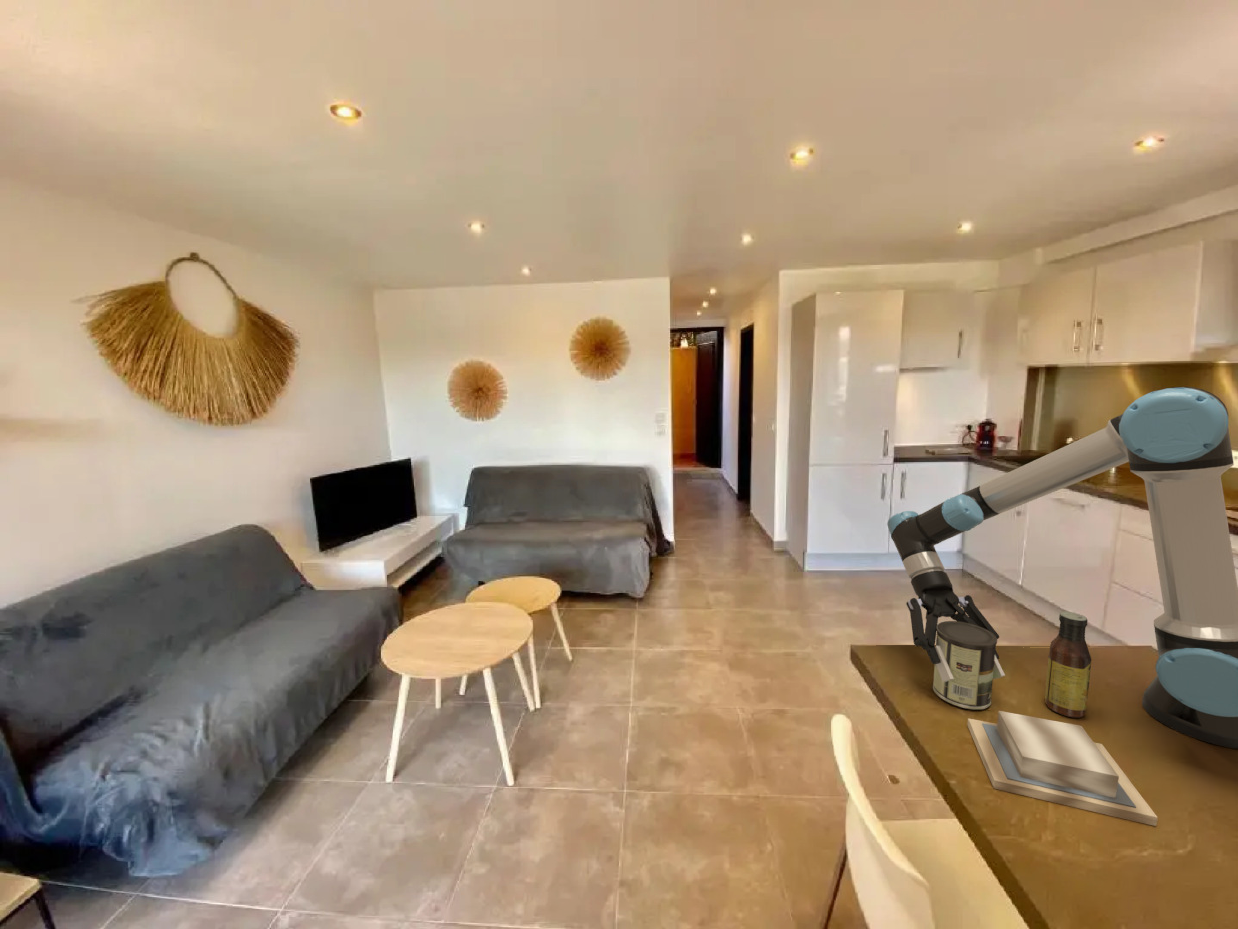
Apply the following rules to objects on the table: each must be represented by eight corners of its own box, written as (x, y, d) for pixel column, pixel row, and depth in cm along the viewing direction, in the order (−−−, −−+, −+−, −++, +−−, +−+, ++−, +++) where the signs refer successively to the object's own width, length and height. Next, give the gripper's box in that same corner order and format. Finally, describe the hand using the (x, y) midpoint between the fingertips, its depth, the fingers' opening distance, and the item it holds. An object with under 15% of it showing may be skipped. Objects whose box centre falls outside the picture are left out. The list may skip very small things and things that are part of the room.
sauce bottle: (1093, 721, 96) (1107, 626, 92) (1056, 718, 97) (1068, 623, 93) (1070, 700, 102) (1082, 610, 99) (1035, 697, 103) (1046, 608, 100)
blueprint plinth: (1100, 751, 88) (1104, 723, 87) (1156, 826, 73) (1161, 794, 72) (967, 725, 95) (969, 699, 95) (993, 788, 81) (996, 758, 80)
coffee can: (974, 681, 108) (979, 621, 106) (1002, 712, 98) (1009, 646, 96) (923, 678, 110) (927, 619, 108) (946, 708, 100) (951, 644, 98)
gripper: (965, 579, 117) (1014, 679, 104) (872, 584, 116) (910, 686, 103) (984, 566, 111) (1040, 671, 98) (887, 571, 110) (929, 677, 97)
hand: (973, 678), depth 100 cm, fingers closed on coffee can, 10 cm apart
